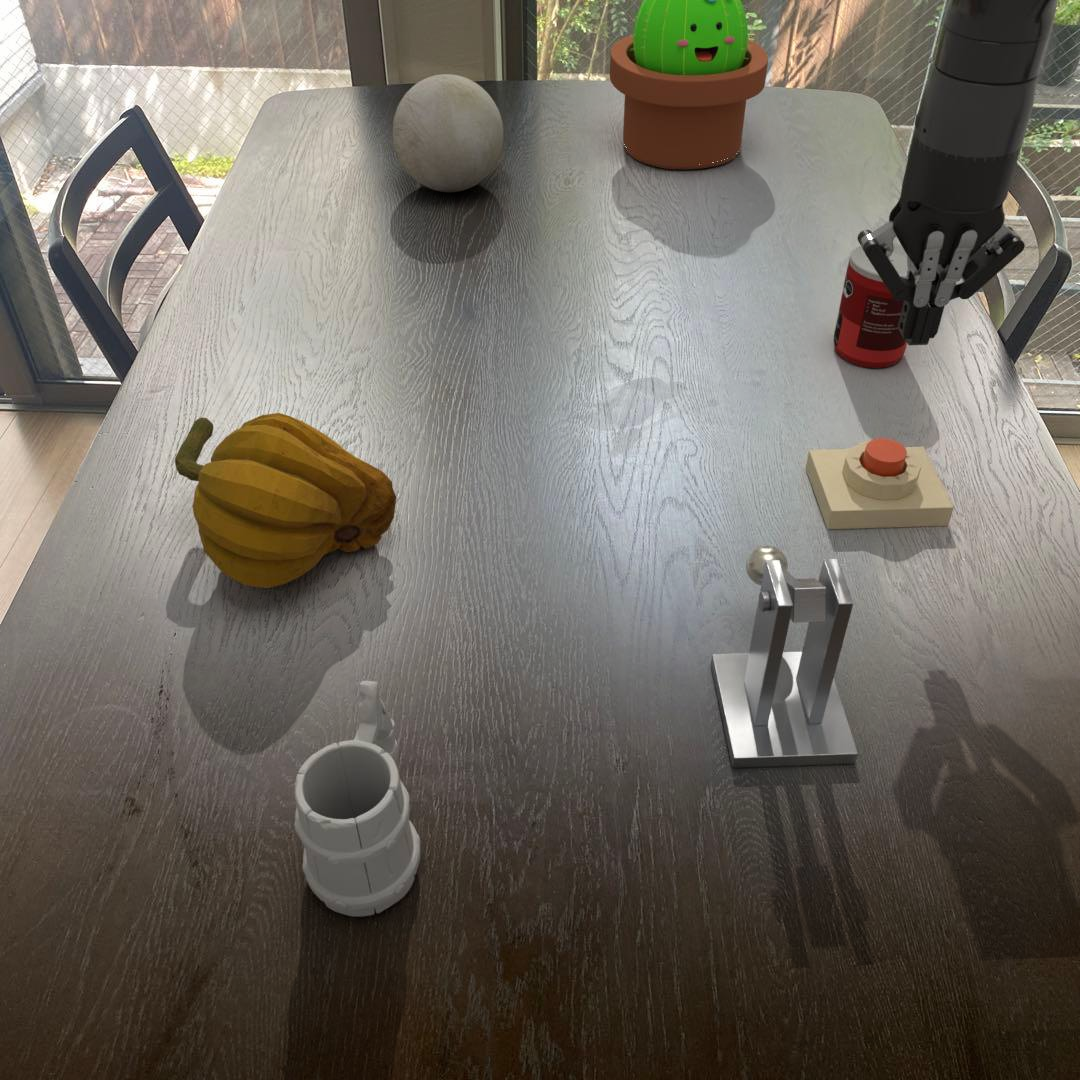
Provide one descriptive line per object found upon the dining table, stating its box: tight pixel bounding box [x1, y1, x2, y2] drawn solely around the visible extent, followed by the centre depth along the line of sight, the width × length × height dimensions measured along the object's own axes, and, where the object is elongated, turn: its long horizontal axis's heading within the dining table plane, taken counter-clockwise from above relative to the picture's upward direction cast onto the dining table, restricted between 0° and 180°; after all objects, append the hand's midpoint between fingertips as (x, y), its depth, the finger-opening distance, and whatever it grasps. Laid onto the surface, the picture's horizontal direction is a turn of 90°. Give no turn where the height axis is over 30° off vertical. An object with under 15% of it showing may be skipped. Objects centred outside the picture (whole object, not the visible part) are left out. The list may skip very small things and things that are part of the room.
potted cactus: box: [609, 0, 769, 171], centre depth 153 cm, size 22×22×25 cm
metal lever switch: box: [710, 557, 859, 769], centre depth 77 cm, size 10×9×14 cm
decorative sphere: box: [392, 73, 505, 193], centre depth 147 cm, size 15×15×15 cm
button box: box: [805, 440, 955, 530], centre depth 99 cm, size 11×9×4 cm
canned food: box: [833, 243, 908, 369], centre depth 116 cm, size 8×8×11 cm
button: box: [862, 437, 907, 477], centre depth 98 cm, size 4×4×2 cm
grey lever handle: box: [745, 545, 826, 624], centre depth 79 cm, size 14×3×3 cm
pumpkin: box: [174, 412, 397, 589], centre depth 91 cm, size 14×16×20 cm
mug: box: [293, 680, 421, 918], centre depth 70 cm, size 8×12×12 cm, turn 172°
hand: (915, 340), depth 90 cm, fingers closed
